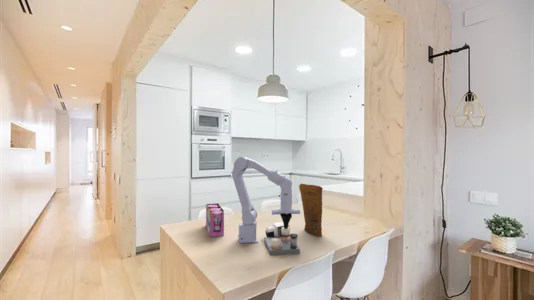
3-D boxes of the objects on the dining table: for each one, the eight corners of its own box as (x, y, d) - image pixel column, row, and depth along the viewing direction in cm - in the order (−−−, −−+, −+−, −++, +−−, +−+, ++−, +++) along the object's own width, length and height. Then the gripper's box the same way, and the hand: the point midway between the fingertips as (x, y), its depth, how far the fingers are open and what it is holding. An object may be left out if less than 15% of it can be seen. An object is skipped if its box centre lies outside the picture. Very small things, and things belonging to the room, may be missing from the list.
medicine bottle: (290, 237, 141) (269, 242, 137) (285, 233, 147) (265, 237, 144) (289, 224, 140) (268, 228, 137) (284, 221, 147) (264, 225, 143)
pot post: (290, 249, 121) (290, 236, 121) (288, 246, 124) (289, 233, 124) (298, 248, 121) (298, 235, 121) (296, 246, 125) (296, 233, 125)
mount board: (270, 254, 119) (270, 249, 119) (264, 241, 137) (264, 236, 137) (299, 253, 121) (299, 248, 121) (290, 240, 139) (290, 235, 139)
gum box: (224, 236, 143) (225, 211, 143) (209, 238, 141) (210, 212, 141) (218, 224, 166) (218, 203, 166) (205, 225, 163) (205, 203, 163)
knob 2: (282, 235, 132) (282, 229, 132) (280, 232, 136) (280, 227, 136) (290, 235, 133) (290, 229, 133) (288, 232, 137) (288, 226, 137)
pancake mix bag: (317, 238, 142) (317, 186, 142) (297, 228, 159) (298, 182, 159) (326, 236, 145) (327, 186, 145) (306, 227, 162) (307, 182, 162)
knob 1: (272, 248, 121) (272, 241, 121) (270, 244, 125) (270, 238, 125) (281, 247, 122) (281, 241, 122) (279, 244, 126) (279, 238, 126)
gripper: (273, 203, 129) (273, 231, 129) (302, 203, 132) (301, 230, 132) (271, 200, 136) (270, 226, 136) (298, 200, 139) (297, 225, 139)
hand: (285, 228), depth 135 cm, fingers closed, pressing on knob 2
